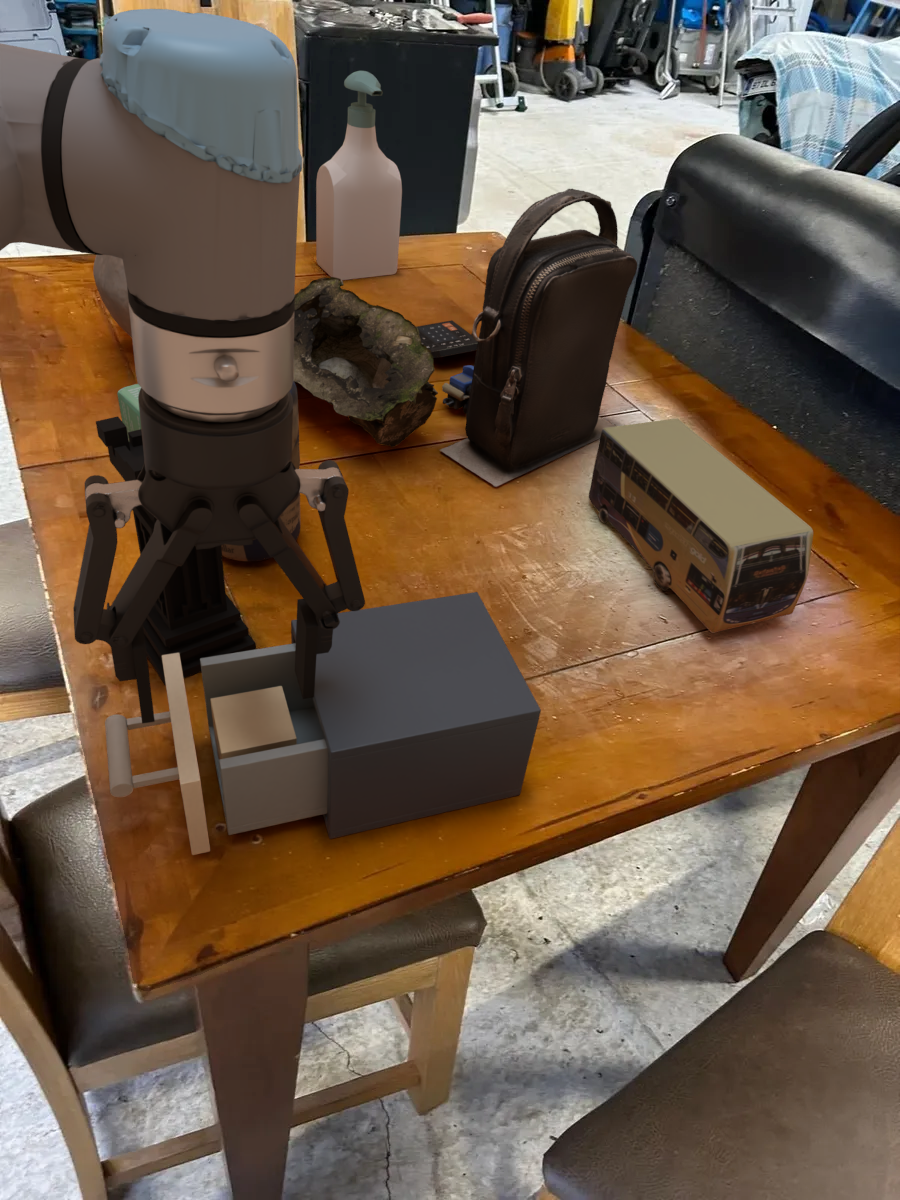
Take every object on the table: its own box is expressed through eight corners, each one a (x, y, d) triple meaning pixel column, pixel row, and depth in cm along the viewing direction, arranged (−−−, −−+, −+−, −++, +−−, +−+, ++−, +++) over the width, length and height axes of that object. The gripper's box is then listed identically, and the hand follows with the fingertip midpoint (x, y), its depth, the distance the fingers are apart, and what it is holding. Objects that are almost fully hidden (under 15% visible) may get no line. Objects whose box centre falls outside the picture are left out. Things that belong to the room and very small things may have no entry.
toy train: (569, 372, 120) (576, 336, 117) (456, 422, 107) (460, 384, 103) (547, 361, 122) (554, 326, 118) (433, 409, 109) (437, 371, 105)
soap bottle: (337, 285, 134) (341, 80, 116) (316, 265, 139) (316, 65, 121) (402, 278, 139) (415, 79, 121) (379, 258, 144) (388, 65, 126)
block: (226, 799, 61) (221, 753, 58) (215, 744, 65) (210, 698, 61) (297, 783, 63) (296, 738, 60) (283, 731, 66) (281, 685, 63)
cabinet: (329, 839, 62) (330, 752, 56) (293, 707, 71) (290, 619, 64) (520, 795, 66) (541, 710, 60) (464, 676, 75) (477, 591, 69)
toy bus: (706, 644, 81) (737, 555, 74) (581, 508, 97) (599, 426, 91) (791, 623, 84) (828, 537, 78) (658, 496, 100) (679, 416, 94)
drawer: (124, 871, 58) (105, 799, 53) (113, 738, 66) (96, 665, 60) (386, 811, 63) (392, 741, 58) (347, 696, 71) (350, 625, 66)
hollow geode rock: (415, 502, 102) (503, 402, 99) (346, 456, 91) (443, 342, 89) (306, 385, 118) (380, 296, 115) (238, 334, 107) (317, 235, 105)
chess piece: (165, 685, 71) (130, 476, 58) (127, 626, 76) (87, 420, 63) (256, 649, 75) (243, 446, 62) (215, 595, 80) (195, 395, 66)
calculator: (451, 326, 127) (453, 305, 125) (497, 361, 120) (500, 340, 118) (395, 336, 123) (396, 315, 121) (439, 373, 116) (441, 351, 114)
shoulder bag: (565, 398, 114) (613, 166, 96) (620, 428, 110) (682, 191, 91) (438, 452, 101) (466, 196, 83) (495, 489, 97) (537, 227, 78)
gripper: (-38, 438, 38) (45, 769, 52) (450, 415, 45) (404, 710, 59) (-29, 357, 43) (44, 678, 57) (407, 348, 50) (374, 635, 65)
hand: (228, 694), depth 58 cm, fingers open, 9 cm apart
